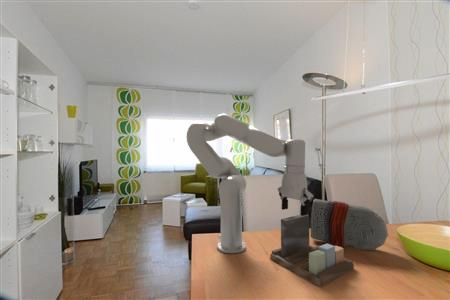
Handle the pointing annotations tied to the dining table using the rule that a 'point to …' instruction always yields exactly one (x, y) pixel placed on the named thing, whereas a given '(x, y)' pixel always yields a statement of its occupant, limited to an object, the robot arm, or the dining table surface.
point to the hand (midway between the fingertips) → (293, 212)
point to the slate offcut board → (328, 254)
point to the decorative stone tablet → (347, 225)
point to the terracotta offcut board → (339, 255)
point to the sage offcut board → (317, 262)
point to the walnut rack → (304, 269)
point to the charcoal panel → (294, 235)
